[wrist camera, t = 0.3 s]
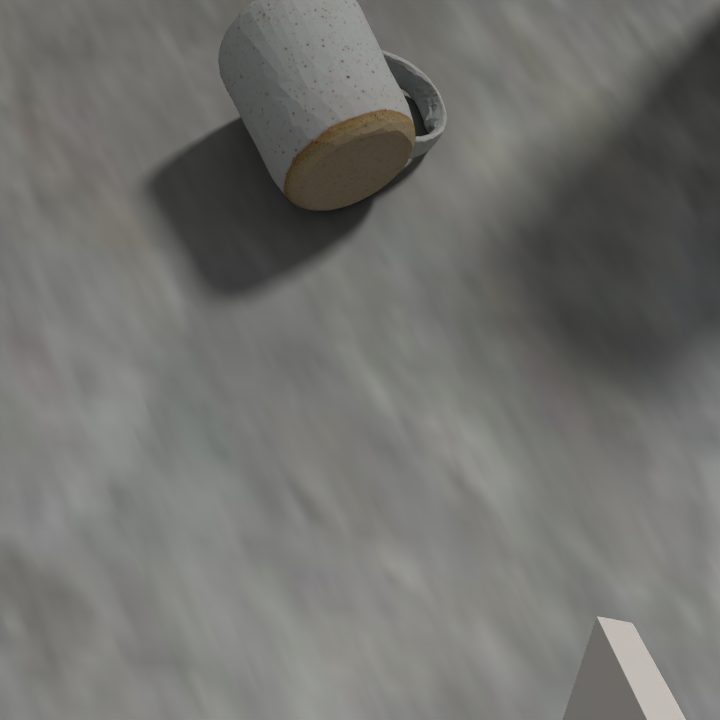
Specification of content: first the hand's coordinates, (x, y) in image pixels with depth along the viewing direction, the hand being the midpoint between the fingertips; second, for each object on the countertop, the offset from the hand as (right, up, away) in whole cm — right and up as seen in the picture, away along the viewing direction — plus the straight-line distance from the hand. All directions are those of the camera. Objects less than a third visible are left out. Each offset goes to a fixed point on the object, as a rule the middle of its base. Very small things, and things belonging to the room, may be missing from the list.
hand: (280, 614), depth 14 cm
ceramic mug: (+1, +17, +23) cm, 29 cm away
